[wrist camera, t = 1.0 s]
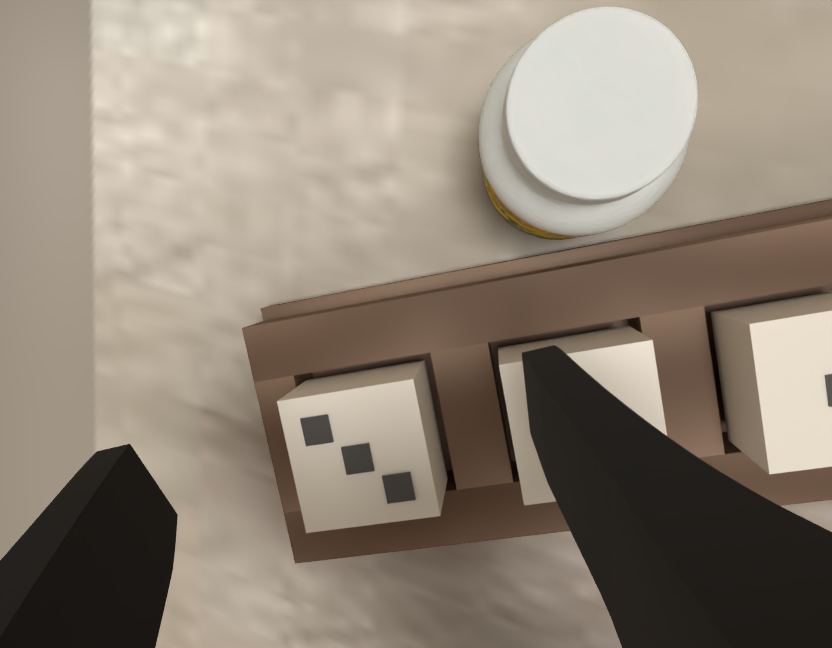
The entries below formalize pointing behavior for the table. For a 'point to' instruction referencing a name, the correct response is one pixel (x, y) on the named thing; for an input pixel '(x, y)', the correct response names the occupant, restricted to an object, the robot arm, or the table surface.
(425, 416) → the key three
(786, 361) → the key one
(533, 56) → the supplement bottle
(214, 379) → the table surface
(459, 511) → the brown wooden tray
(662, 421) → the key two
